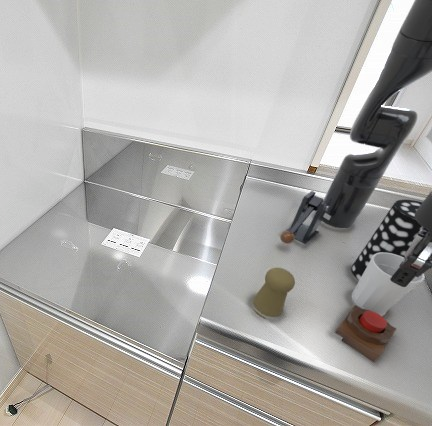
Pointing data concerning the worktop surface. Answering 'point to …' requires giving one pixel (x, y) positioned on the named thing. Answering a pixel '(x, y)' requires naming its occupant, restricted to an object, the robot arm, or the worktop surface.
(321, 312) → the worktop surface
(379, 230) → the white-spotted black cylinder
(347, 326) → the button block
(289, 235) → the lever
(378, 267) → the cup
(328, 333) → the worktop surface
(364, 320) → the button
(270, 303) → the cork
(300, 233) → the lever bracket
